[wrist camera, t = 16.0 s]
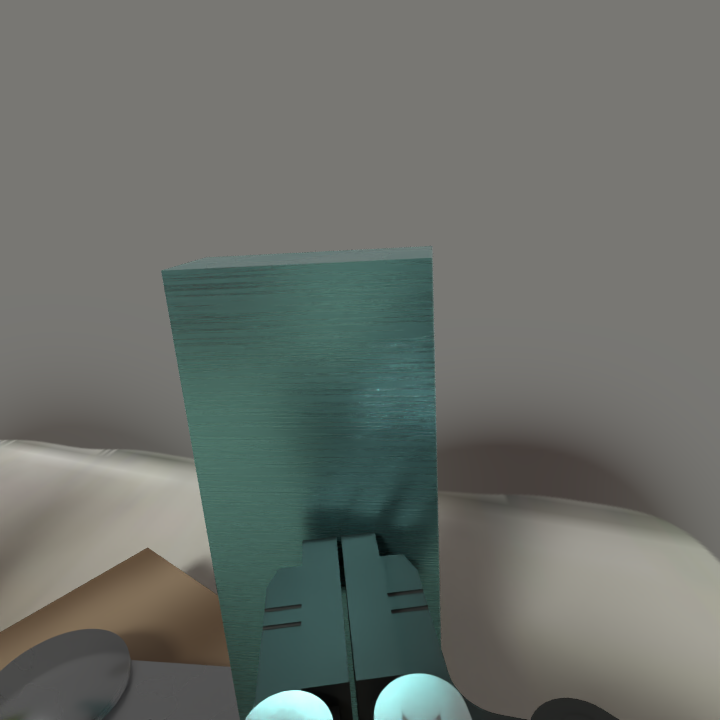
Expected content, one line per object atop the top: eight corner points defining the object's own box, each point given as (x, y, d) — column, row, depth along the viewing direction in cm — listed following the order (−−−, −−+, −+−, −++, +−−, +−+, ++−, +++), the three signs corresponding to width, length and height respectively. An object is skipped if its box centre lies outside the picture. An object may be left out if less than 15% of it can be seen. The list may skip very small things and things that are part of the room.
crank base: (-202, 843, 16) (-336, 605, 13) (254, 538, 29) (232, 387, 26) (-112, 1370, 8) (-373, 1066, 6) (446, 642, 21) (443, 446, 19)
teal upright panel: (-53, 785, 14) (-256, 297, 10) (51, 658, 18) (-69, 267, 14) (444, 840, 12) (431, 265, 8) (441, 685, 16) (432, 241, 12)
